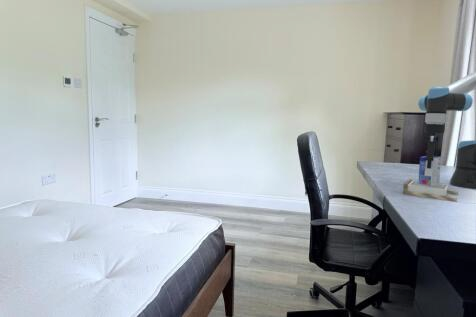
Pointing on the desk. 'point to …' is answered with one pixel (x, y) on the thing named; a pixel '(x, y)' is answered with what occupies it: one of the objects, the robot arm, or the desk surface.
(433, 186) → the caddy
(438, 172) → the ink cartridge box
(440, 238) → the desk surface
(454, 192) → the backstop
